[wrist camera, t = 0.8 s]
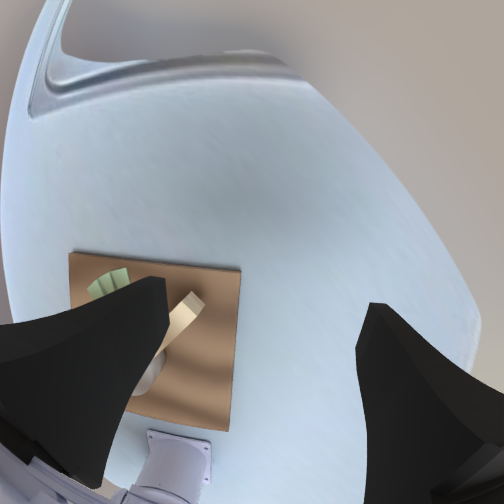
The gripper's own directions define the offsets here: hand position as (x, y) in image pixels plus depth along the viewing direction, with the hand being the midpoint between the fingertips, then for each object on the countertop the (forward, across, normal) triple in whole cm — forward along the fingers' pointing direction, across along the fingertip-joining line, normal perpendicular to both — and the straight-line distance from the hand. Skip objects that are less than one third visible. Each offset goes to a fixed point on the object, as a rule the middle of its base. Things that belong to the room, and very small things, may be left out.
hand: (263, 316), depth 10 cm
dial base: (+11, +12, +14) cm, 22 cm away
